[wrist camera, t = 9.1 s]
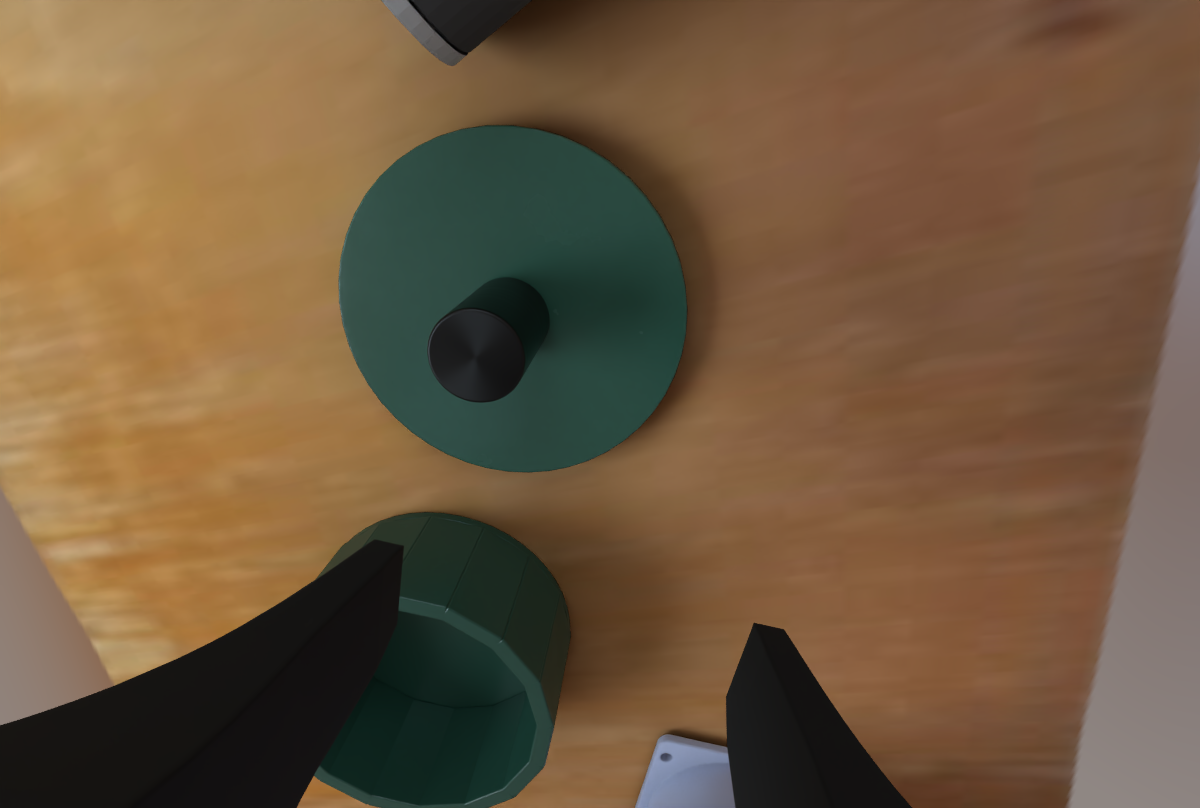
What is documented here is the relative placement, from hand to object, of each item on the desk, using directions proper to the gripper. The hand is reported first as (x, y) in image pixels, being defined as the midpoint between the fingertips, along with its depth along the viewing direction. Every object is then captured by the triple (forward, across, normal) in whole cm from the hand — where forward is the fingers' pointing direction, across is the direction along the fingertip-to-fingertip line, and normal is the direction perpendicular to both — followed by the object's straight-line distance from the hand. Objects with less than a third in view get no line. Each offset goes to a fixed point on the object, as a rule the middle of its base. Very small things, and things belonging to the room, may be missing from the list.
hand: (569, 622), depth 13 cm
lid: (+10, +4, -3) cm, 11 cm away
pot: (+10, +5, +11) cm, 16 cm away
